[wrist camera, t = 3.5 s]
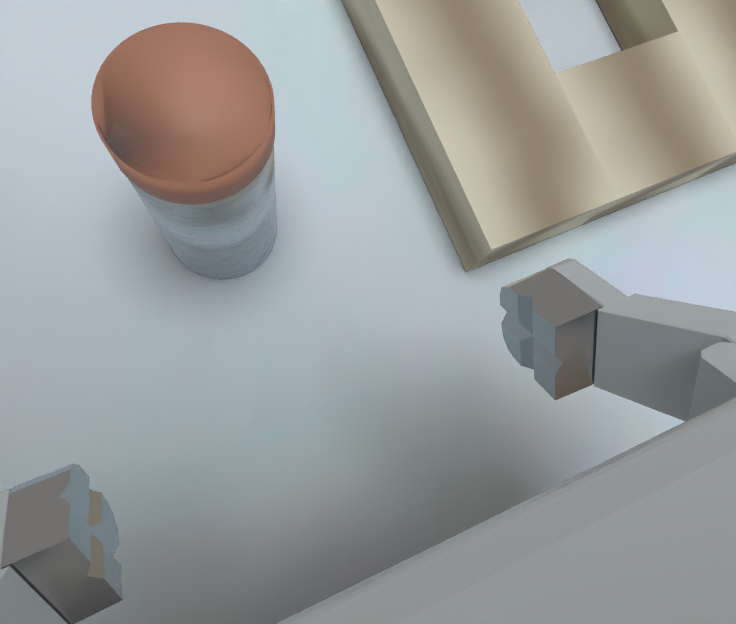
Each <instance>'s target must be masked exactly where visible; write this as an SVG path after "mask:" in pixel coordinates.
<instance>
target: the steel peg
mask: <svg viewBox="0 0 736 624" xmlns="http://www.w3.org/2000/svg"><path fill="white" fill-rule="evenodd" d="M92 114H93V120H94V123H95V126H96V129H97V132H98V134H99V136H100V138H101V140H102V141H103V143H104V145H105V146H106V148H107V149H108V151H109V153H110V154H111V156H112V157H113V159H114V160H115V162H116V164H117V165H118V167H119V168H120V170H121V171H122V172H123V173H124V175H125V176H126V177H127V178H128V179H129V181H130V182H131V184H132V185H133V187H134V189H135V190H136V192H137V193H138V195H139V197H140V198H141V200H142V202H143V203H144V205H145V206H146V208H147V210H148V211H149V213H150V214H151V216H152V218H153V219H154V221H155V222H156V224H157V226H158V227H159V229H160V231H161V232H162V234H163V235H164V237H165V239H166V240H167V242H168V243H169V245H170V247H171V248H172V250H173V251H174V253H175V254H176V256H177V258H178V259H179V260H180V261H181V262H182V263H183V264H184V265H185V266H186V267H187V268H189V269H190V270H192V271H193V272H195V273H197V274H199V275H202V276H205V277H208V278H213V279H231V278H236V277H239V276H243V275H245V274H247V273H249V272H251V271H253V270H254V269H256V268H257V267H258V266H259V265H261V264H262V262H263V261H264V260H265V259H266V258H267V257H268V255H269V254H270V252H271V250H272V248H273V245H274V243H275V239H276V233H277V219H276V193H275V166H274V138H275V111H274V95H273V90H272V85H271V83H270V80H269V77H268V75H267V73H266V71H265V69H264V67H263V65H262V64H261V63H260V61H259V60H258V58H257V57H256V56H255V55H254V54H253V53H252V52H251V50H250V49H248V48H247V47H246V46H245V45H244V44H243V43H241V42H240V41H239V40H237V39H236V38H234V37H233V36H231V35H229V34H227V33H225V32H223V31H221V30H218V29H215V28H213V27H209V26H205V25H201V24H194V23H167V24H161V25H157V26H153V27H150V28H147V29H144V30H142V31H140V32H138V33H136V34H134V35H132V36H130V37H129V38H127V39H126V40H124V41H123V42H122V43H120V44H119V45H118V46H117V47H116V48H115V49H114V50H113V51H112V52H111V53H110V54H109V55H108V56H107V58H106V59H105V61H104V62H103V64H102V65H101V67H100V69H99V71H98V73H97V76H96V79H95V82H94V85H93V91H92Z"/></svg>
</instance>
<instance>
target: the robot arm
mask: <svg viewBox="0 0 736 624" xmlns="http://www.w3.org/2000/svg"><path fill="white" fill-rule="evenodd" d="M500 305H501V306H502V307H503V308H504V309H505V310H506V311H507V313H506V315H505V317H504V319H503V321H502V331H503V337H504V340H505V343H506V345H507V348H508V350H509V351H510V353H511V354H512V356H513V357H514V358H515V360H516V361H517V362H518V363H519V364H520V365H521V366H525V367H528V368H532V369H534V379H535V380H536V381H537V382H538V383H539V384H540V385H541V386H542V387H543V388H544V390H545V391H546V392H547V393H548V394H549V395H550V396H551V397H552V398H553V399H554V400H557V399H560V398H562V397H564V396H567V395H569V394H571V393H574V392H576V391H578V390H581V389H583V388H585V387H588V386H590V385H592V384H594V386H595V387H598V388H600V389H603V390H606V391H608V392H611V393H613V394H616V395H618V396H621V397H624V398H626V399H629V400H631V401H634V402H637V403H639V404H642V405H644V406H647V407H650V408H652V409H655V410H657V411H660V412H663V413H665V414H668V415H670V416H673V417H675V418H678V419H681V420H683V421H686V422H684V423H682V424H680V425H678V426H676V427H674V428H672V429H670V430H668V431H666V432H664V433H662V434H660V435H658V436H656V437H654V438H652V439H649V440H647V441H645V442H643V443H641V444H639V445H637V446H635V447H633V448H631V449H629V450H627V451H625V452H623V453H621V454H619V455H617V456H615V457H613V458H611V459H609V460H607V461H605V462H603V463H601V464H599V465H597V466H595V467H593V468H591V469H589V470H586V471H584V472H582V473H580V474H578V475H576V476H574V477H572V478H570V479H568V480H566V481H564V482H562V483H560V484H558V485H556V486H554V487H552V488H550V489H548V490H546V491H544V492H542V493H540V494H538V495H536V496H534V497H532V498H530V499H528V500H526V501H524V502H522V503H520V504H518V505H516V506H514V507H512V508H509V509H507V510H505V511H503V512H501V513H499V514H497V515H495V516H493V517H491V518H489V519H487V520H485V521H483V522H481V523H479V524H477V525H475V526H473V527H471V528H469V529H467V530H465V531H463V532H461V533H459V534H457V535H455V536H453V537H451V538H449V539H447V540H445V541H443V542H441V543H438V544H436V545H434V546H432V547H430V548H428V549H426V550H424V551H422V552H420V553H418V554H416V555H414V556H412V557H410V558H408V559H406V560H404V561H402V562H400V563H398V564H396V565H394V566H392V567H390V568H388V569H386V570H384V571H382V572H380V573H378V574H376V575H373V576H371V577H369V578H367V579H365V580H363V581H361V582H359V583H357V584H355V585H353V586H351V587H349V588H347V589H345V590H343V591H341V592H339V593H337V594H335V595H333V596H331V597H329V598H327V599H325V600H323V601H321V602H319V603H317V604H315V605H313V606H311V607H308V608H306V609H304V610H302V611H300V612H298V613H296V614H294V615H292V616H290V617H288V618H286V619H284V620H282V621H280V622H278V623H276V624H736V312H733V311H728V310H722V309H716V308H711V307H705V306H700V305H694V304H688V303H683V302H677V301H672V300H666V299H660V298H655V297H649V296H644V295H638V294H633V295H631V296H629V297H628V296H626V295H625V294H624V293H622V292H621V291H619V290H618V289H616V288H615V287H614V286H612V285H611V284H609V283H608V282H606V281H605V280H604V279H602V278H601V277H599V276H598V275H596V274H595V273H593V272H592V271H591V270H589V269H588V268H586V267H585V266H583V265H582V264H581V263H579V262H578V261H576V260H574V259H566V260H564V261H562V262H559V263H557V264H555V265H553V266H550V267H548V268H546V269H545V270H542V271H540V272H537V273H535V274H533V275H530V276H528V277H526V278H523V279H521V280H518V281H516V282H514V283H511V284H509V285H507V286H504V287H502V288H501V292H500ZM118 545H119V538H118V529H117V525H116V522H115V518H114V515H113V512H112V510H111V508H110V506H109V504H108V502H107V501H106V499H105V498H104V497H103V495H102V494H101V493H99V492H96V491H92V490H89V476H88V475H87V474H86V473H85V471H84V470H83V469H82V468H81V467H80V465H77V464H72V465H69V466H67V467H64V468H61V469H59V470H56V471H54V472H51V473H49V474H46V475H43V476H41V477H38V478H36V479H33V480H31V481H28V482H25V483H23V484H20V485H18V486H15V487H13V488H12V489H9V490H6V491H4V492H1V493H0V624H75V623H77V622H79V621H81V620H83V619H85V618H87V617H89V616H91V615H93V614H95V613H97V612H99V611H101V610H103V609H105V608H107V607H109V606H111V605H113V604H115V603H118V602H120V601H122V600H123V599H122V583H121V566H120V565H119V563H118V562H117V561H116V559H115V558H114V557H113V556H112V555H113V554H114V552H115V550H116V548H117V546H118Z"/></svg>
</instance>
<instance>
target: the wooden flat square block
mask: <svg viewBox="0 0 736 624" xmlns="http://www.w3.org/2000/svg"><path fill="white" fill-rule="evenodd" d="M596 1H597V3H598V4H599V6H600V8H601V10H602V12H603V14H604V16H605V18H606V20H607V22H608V24H609V26H610V28H611V30H612V31H613V33H614V35H615V37H616V39H617V41H618V43H619V45H620V47H621V49H622V51H620V52H617V53H614V54H611V55H608V56H605V57H602V58H599V59H597V60H594V61H591V62H588V63H585V64H582V65H579V66H576V67H573V68H570V69H568V70H565V71H562V72H559V73H556V74H555V73H554V71H553V69H552V67H551V65H550V63H549V61H548V59H547V57H546V55H545V53H544V51H543V49H542V47H541V45H540V43H539V41H538V39H537V37H536V35H535V33H534V31H533V29H532V27H531V25H530V23H529V21H528V19H527V17H526V15H525V13H524V11H523V9H522V7H521V5H520V3H519V1H518V0H342V2H343V4H344V7H345V9H346V11H347V13H348V15H349V18H350V20H351V22H352V24H353V26H354V28H355V31H356V33H357V35H358V37H359V39H360V42H361V44H362V46H363V48H364V50H365V52H366V55H367V57H368V59H369V61H370V63H371V65H372V68H373V70H374V72H375V74H376V76H377V79H378V81H379V83H380V85H381V87H382V89H383V92H384V94H385V96H386V98H387V100H388V103H389V105H390V107H391V109H392V111H393V113H394V116H395V118H396V120H397V122H398V124H399V127H400V129H401V131H402V133H403V135H404V137H405V140H406V142H407V144H408V146H409V148H410V151H411V153H412V155H413V157H414V159H415V161H416V164H417V166H418V168H419V170H420V172H421V175H422V177H423V179H424V181H425V183H426V185H427V188H428V190H429V192H430V194H431V196H432V199H433V201H434V203H435V205H436V207H437V209H438V212H439V214H440V216H441V218H442V220H443V222H444V225H445V227H446V229H447V231H448V233H449V236H450V238H451V240H452V242H453V244H454V246H455V249H456V251H457V253H458V255H459V257H460V260H461V262H462V264H463V266H464V268H465V270H466V272H467V271H469V270H472V269H474V268H477V267H479V266H482V265H484V264H487V263H489V262H492V261H494V260H496V259H499V258H501V257H504V256H506V255H509V254H511V253H514V252H516V251H519V250H521V249H524V248H526V247H529V246H531V245H534V244H536V243H539V242H541V241H543V240H546V239H548V238H551V237H553V236H556V235H558V234H561V233H563V232H566V231H568V230H571V229H573V228H576V227H578V226H581V225H583V224H586V223H588V222H590V221H593V220H595V219H598V218H600V217H603V216H605V215H608V214H610V213H613V212H615V211H618V210H620V209H623V208H625V207H628V206H630V205H632V204H635V203H637V202H640V201H642V200H645V199H647V198H650V197H652V196H655V195H657V194H660V193H662V192H665V191H667V190H670V189H672V188H675V187H677V186H679V185H682V184H684V183H687V182H689V181H692V180H694V179H697V178H699V177H702V176H704V175H707V174H709V173H712V172H714V171H717V170H719V169H721V168H724V167H726V166H729V165H731V164H734V163H736V0H596Z"/></svg>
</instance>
